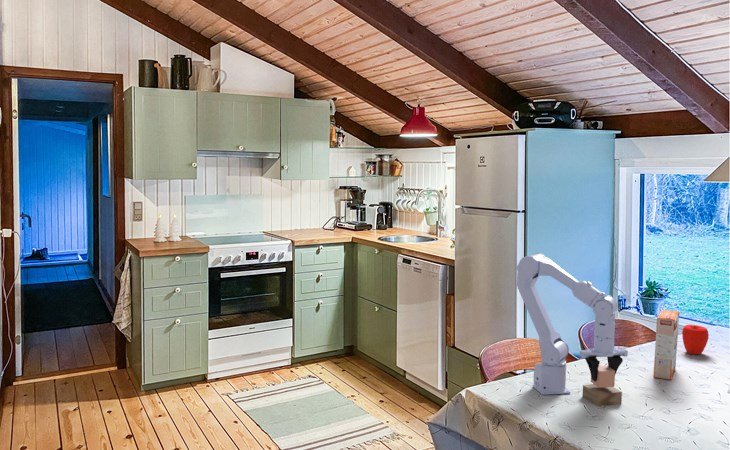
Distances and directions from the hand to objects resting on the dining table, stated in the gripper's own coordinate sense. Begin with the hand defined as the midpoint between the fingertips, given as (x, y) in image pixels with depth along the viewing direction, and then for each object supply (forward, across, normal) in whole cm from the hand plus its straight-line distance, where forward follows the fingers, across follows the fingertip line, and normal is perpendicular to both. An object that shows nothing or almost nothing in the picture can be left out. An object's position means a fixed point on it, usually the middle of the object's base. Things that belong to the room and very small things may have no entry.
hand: (602, 379), depth 191 cm
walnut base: (+7, 0, 0) cm, 7 cm away
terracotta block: (+1, 0, 0) cm, 1 cm away
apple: (+7, +59, +40) cm, 72 cm away
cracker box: (+7, +34, +20) cm, 40 cm away
